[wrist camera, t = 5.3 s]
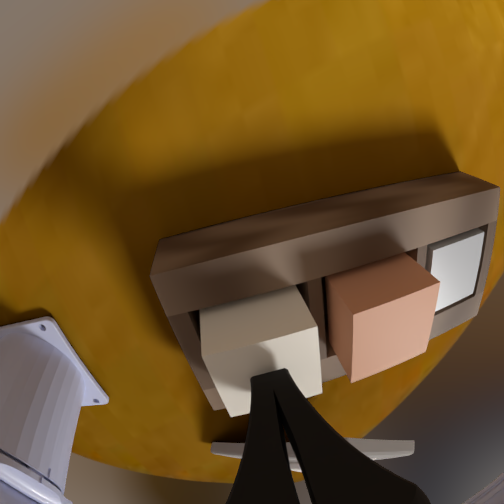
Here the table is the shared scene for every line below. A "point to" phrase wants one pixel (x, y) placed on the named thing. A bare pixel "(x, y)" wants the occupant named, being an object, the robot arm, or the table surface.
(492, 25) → the table surface
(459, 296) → the slate key
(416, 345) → the rust key
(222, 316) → the ivory key
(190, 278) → the brown slotted tray
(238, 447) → the light switch
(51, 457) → the robot arm
